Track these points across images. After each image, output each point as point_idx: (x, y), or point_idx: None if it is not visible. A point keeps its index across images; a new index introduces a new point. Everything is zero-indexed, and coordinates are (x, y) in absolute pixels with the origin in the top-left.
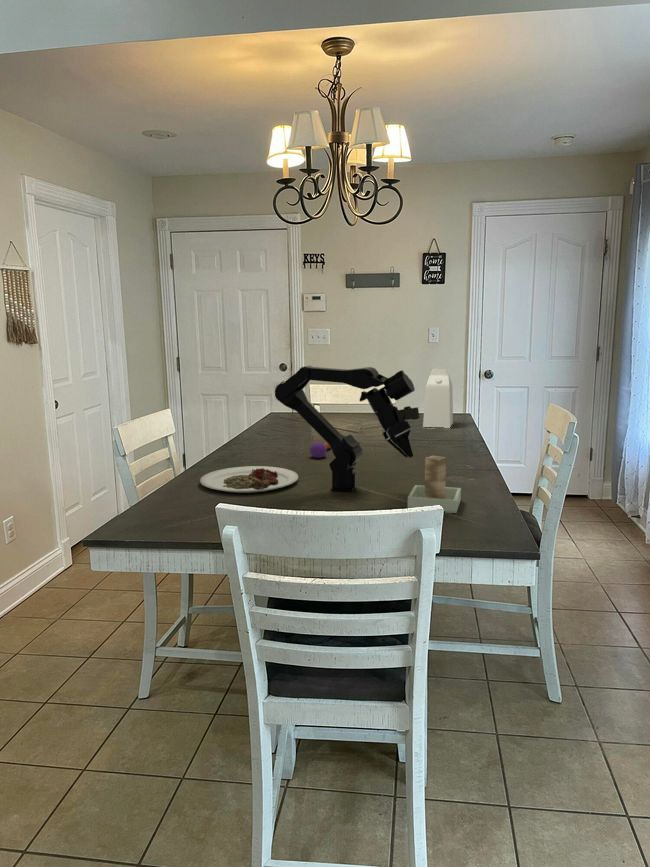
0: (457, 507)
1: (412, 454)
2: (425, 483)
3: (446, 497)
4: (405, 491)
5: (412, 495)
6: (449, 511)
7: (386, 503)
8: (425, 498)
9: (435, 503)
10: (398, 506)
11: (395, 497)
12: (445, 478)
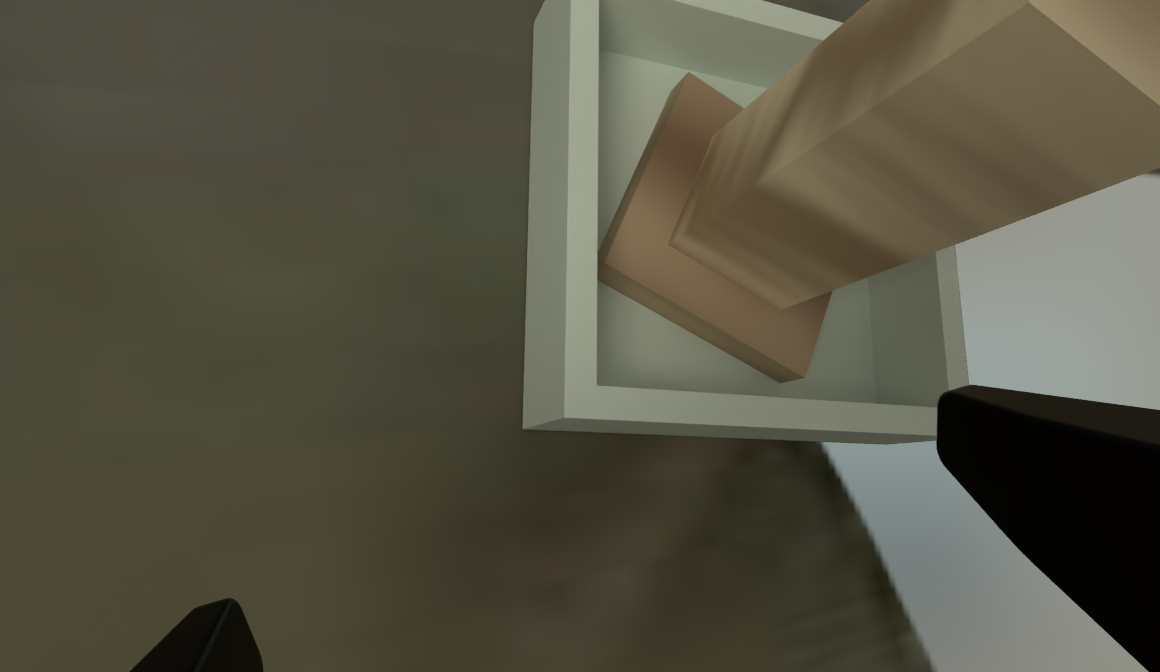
0: None
1: (1002, 396)
2: (887, 262)
3: (685, 122)
4: (300, 570)
5: (886, 405)
6: None
7: (773, 664)
8: (957, 283)
9: None
10: (820, 535)
11: (568, 628)
12: (834, 32)
